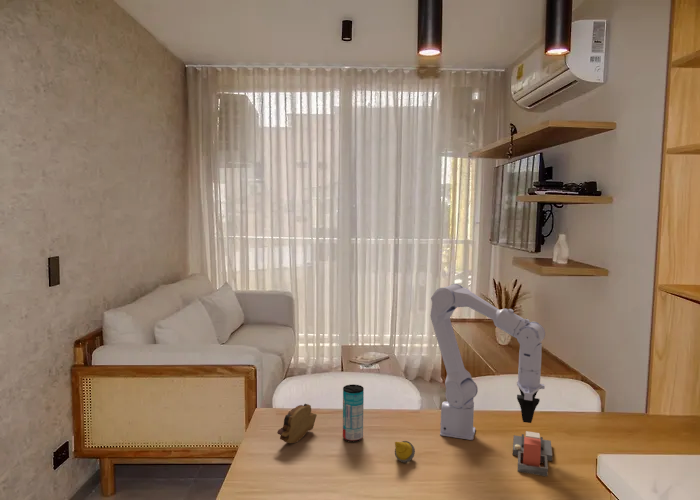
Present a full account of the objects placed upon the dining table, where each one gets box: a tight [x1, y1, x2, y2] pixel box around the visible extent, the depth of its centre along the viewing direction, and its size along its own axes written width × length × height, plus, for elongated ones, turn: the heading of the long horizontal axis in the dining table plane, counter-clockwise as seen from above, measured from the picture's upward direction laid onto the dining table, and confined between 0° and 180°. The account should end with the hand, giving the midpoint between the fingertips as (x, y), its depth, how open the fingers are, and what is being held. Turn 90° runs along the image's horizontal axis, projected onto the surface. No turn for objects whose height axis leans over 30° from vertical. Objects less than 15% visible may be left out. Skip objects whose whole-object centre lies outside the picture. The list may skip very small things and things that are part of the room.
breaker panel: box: [512, 433, 553, 462], centre depth 143 cm, size 10×9×2 cm
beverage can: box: [342, 384, 365, 443], centre depth 148 cm, size 6×6×15 cm
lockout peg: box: [522, 436, 541, 467], centre depth 134 cm, size 4×4×7 cm
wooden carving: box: [277, 403, 317, 444], centre depth 148 cm, size 16×5×10 cm, turn 155°
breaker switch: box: [525, 430, 541, 439], centre depth 142 cm, size 4×3×3 cm
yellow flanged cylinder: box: [394, 440, 416, 463], centre depth 136 cm, size 5×5×10 cm
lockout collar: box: [517, 451, 549, 477], centre depth 134 cm, size 7×7×2 cm
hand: (527, 416), depth 140 cm, fingers open, 7 cm apart
